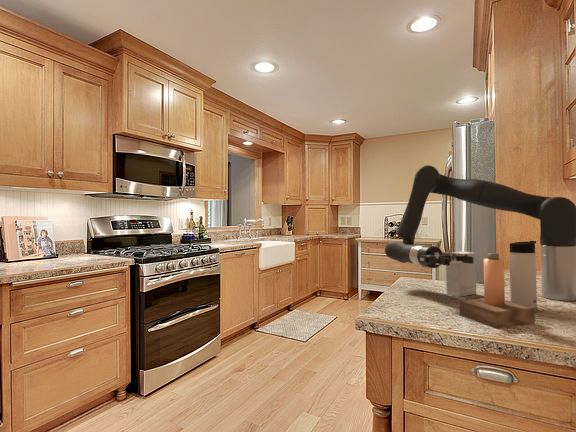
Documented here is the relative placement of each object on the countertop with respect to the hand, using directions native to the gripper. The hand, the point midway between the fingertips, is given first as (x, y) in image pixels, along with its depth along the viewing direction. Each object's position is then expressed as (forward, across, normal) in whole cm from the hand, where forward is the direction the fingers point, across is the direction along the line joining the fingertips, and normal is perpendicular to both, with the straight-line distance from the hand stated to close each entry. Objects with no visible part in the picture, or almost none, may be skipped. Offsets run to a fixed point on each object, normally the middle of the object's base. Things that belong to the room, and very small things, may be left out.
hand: (460, 261), depth 99 cm
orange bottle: (+12, 0, +10) cm, 15 cm away
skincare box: (-14, +13, +14) cm, 24 cm away
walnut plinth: (+12, 0, +14) cm, 18 cm away
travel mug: (+7, +16, +14) cm, 22 cm away
